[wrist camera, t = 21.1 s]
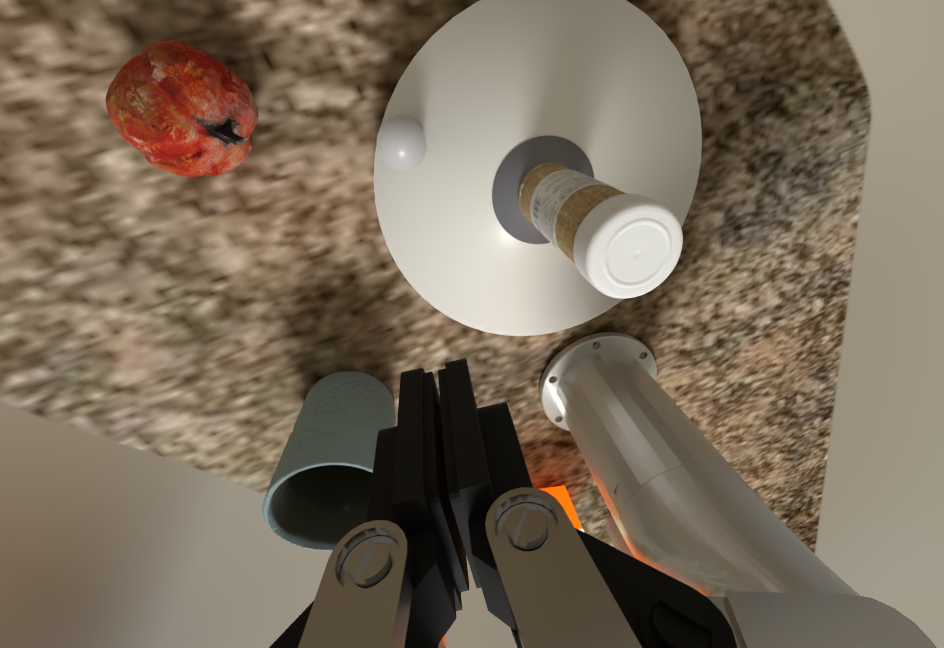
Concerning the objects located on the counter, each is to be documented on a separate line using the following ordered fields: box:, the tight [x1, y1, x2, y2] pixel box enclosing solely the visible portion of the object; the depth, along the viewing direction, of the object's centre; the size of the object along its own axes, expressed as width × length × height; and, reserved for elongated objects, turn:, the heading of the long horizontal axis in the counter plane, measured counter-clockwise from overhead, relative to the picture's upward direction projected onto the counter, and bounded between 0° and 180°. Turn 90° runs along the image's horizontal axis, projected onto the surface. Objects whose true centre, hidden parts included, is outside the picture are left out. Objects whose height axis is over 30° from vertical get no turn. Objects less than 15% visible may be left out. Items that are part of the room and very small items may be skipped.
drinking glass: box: [262, 371, 395, 551], centre depth 36 cm, size 10×10×12 cm
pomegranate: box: [106, 40, 258, 177], centre depth 25 cm, size 7×7×10 cm
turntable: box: [374, 0, 702, 336], centre depth 30 cm, size 24×24×8 cm
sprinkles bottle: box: [518, 162, 683, 299], centre depth 24 cm, size 5×5×14 cm
